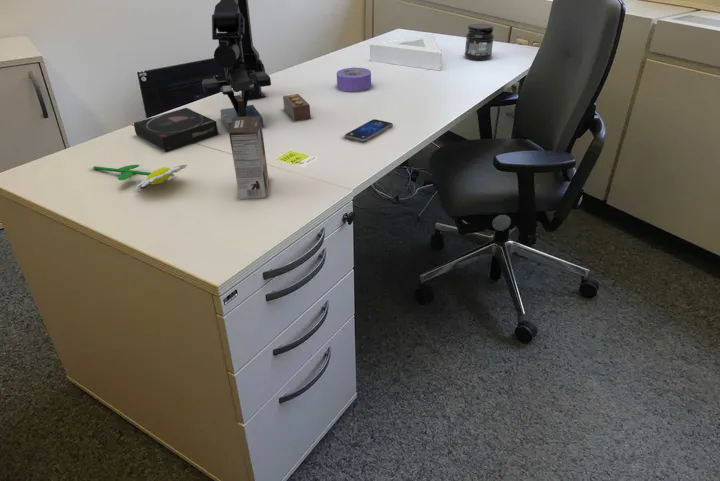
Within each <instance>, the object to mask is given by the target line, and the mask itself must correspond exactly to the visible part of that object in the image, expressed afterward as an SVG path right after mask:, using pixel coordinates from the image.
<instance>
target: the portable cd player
mask: <svg viewBox="0 0 720 481" xmlns="http://www.w3.org/2000/svg"><path fill="white" fill-rule="evenodd" d="M133 127H134V132H135V134H136V137H137V138H139V139H141V140H143V141H144V142H146V143H148V144H150V145H152V146H153V147H155V148H158V150H160V151H162V152H164V153H168V152H171V151H174V150H177V149H180V148H183V147H186V146H189V145H192V144H195V143H199V142H201V141H204V140H207V139H210V138H213V137H217V136H219V129H218V123H217V121H216V120H215V119H212V118H210V117H208V116H206V115H203V114H201V113H199V112H197V111H195V110H192V109H190V108H188V107H184V108H180V109H176V110H173V111H170V112H166V113H163V114H162V113H161V114H159V115H156V116H152V117H148V118H144V119H142V120H138V121H135V122H133Z"/></svg>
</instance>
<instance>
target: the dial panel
mask: <svg viewBox="0 0 720 481" xmlns="http://www.w3.org/2000/svg"><path fill="white" fill-rule="evenodd" d="M219 113H220V118H221V121H222V122H223V124H224V126H225V128H226V130H227V131H228V132H229V130H230V126H231V122H232V118H233V117H240V116H239V114H238V113H237V112H236V111H235V109H234V107H229V108H223V109H222V108H221V109H220V110H219ZM258 116H260V117H261V125H262V128H264V127H265V125H264V124H265V123H264V117H263V116H262V114H261V113H260V112H259V110H258V109H257V108H256V107H255V105H254V104H249V105H248V104H247V106H246V116H243V117H258Z"/></svg>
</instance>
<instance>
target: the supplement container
mask: <svg viewBox="0 0 720 481" xmlns="http://www.w3.org/2000/svg"><path fill="white" fill-rule="evenodd" d="M493 32H494V25H493V24H491V23H485V22H476V23H470V24H469V25H468V26H467V33H466V35H465V50H464V57H465V58H466V59H468V60H470V61H480V62H481V61H487V60H489V59H490V58H492V56H493V55H492V54H493V45H494V44H493V43H494V38H495V36H494V35H495V34H494V33H493Z"/></svg>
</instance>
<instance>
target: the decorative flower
mask: <svg viewBox="0 0 720 481" xmlns="http://www.w3.org/2000/svg"><path fill="white" fill-rule="evenodd" d="M187 166H188V164H179V165H175V166H173V167H167V166H166V167H161V168H158V169H155V170H154V171H152V172H150V171H149V172H148V171H139V170H135V169H136V168H139V167H140V164H130V165H125V166H121V167H118V168H115V167H114V168H113V167H104V166H97V165H96V166H95V165H94V166H93V170H98V171H106V172H114V173H121V174H119V176H118V177H117V180H118V181H125V180H128V179H130V178H131V177H132V176H133V175H138V176H139V175H140V176H146V177H144V179H142V181H140V182H139V184H137V185H136V187H135V189H134V192H136V191H138V190H139V189H140V188H144V187H146V186H147V185H158V184H161V183H164V182H166V181H167V180H168V179H170V178H173V177H175V174H174V173H178V172H180V171H181V170H184V169H186V168H187Z"/></svg>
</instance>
